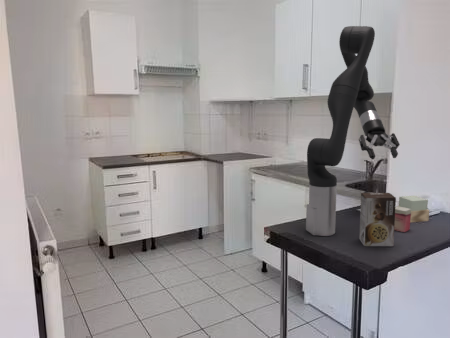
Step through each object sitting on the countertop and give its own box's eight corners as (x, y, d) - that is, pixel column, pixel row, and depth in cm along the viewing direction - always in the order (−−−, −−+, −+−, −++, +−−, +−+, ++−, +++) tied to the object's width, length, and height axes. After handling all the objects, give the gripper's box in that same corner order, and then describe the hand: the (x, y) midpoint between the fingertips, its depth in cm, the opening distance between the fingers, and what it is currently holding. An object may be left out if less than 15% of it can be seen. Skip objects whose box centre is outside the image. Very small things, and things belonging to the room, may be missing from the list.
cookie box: (386, 239, 118) (389, 192, 115) (393, 247, 112) (397, 197, 109) (358, 239, 119) (360, 192, 116) (364, 246, 113) (366, 197, 110)
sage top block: (411, 211, 135) (412, 201, 134) (398, 206, 141) (399, 196, 141) (427, 209, 136) (427, 199, 135) (413, 205, 143) (414, 195, 142)
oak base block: (410, 223, 135) (411, 211, 134) (396, 217, 143) (396, 206, 142) (428, 221, 136) (429, 210, 136) (413, 215, 144) (414, 204, 143)
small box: (390, 229, 128) (391, 208, 127) (396, 226, 131) (397, 205, 129) (404, 232, 124) (406, 211, 123) (410, 230, 127) (411, 208, 125)
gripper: (357, 119, 139) (370, 152, 131) (392, 117, 140) (407, 150, 132) (351, 131, 146) (362, 164, 137) (385, 129, 147) (398, 162, 138)
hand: (384, 157), depth 134 cm, fingers open, 8 cm apart
